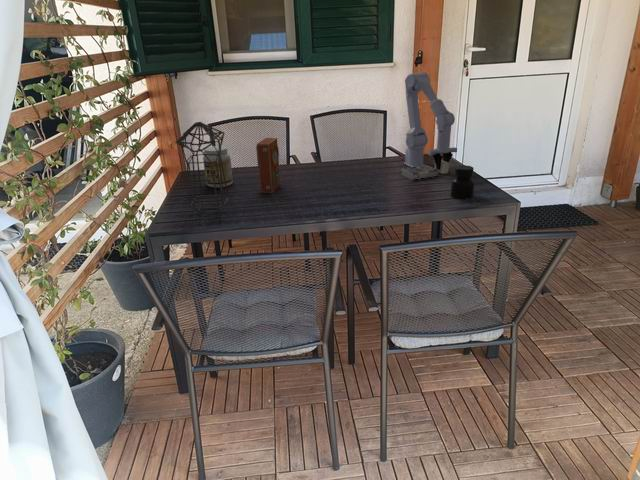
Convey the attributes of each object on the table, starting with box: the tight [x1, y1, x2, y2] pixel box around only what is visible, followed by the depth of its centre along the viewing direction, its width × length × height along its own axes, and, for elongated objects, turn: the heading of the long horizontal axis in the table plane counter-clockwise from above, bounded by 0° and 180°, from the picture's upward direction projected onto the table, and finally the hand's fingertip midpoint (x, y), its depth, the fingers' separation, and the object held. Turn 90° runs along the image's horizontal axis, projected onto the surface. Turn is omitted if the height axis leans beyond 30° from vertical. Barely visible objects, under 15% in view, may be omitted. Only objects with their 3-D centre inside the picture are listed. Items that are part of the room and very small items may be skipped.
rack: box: [400, 164, 439, 181], centre depth 214 cm, size 10×14×3 cm
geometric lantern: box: [174, 121, 229, 218], centre depth 170 cm, size 16×16×35 cm
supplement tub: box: [202, 145, 234, 189], centre depth 209 cm, size 12×12×17 cm
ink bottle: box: [450, 164, 476, 200], centre depth 183 cm, size 10×9×12 cm
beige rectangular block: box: [434, 159, 450, 175], centre depth 217 cm, size 7×3×5 cm, turn 20°
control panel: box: [255, 137, 281, 194], centre depth 199 cm, size 21×7×15 cm
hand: (441, 168), depth 217 cm, fingers closed on beige rectangular block, 3 cm apart
